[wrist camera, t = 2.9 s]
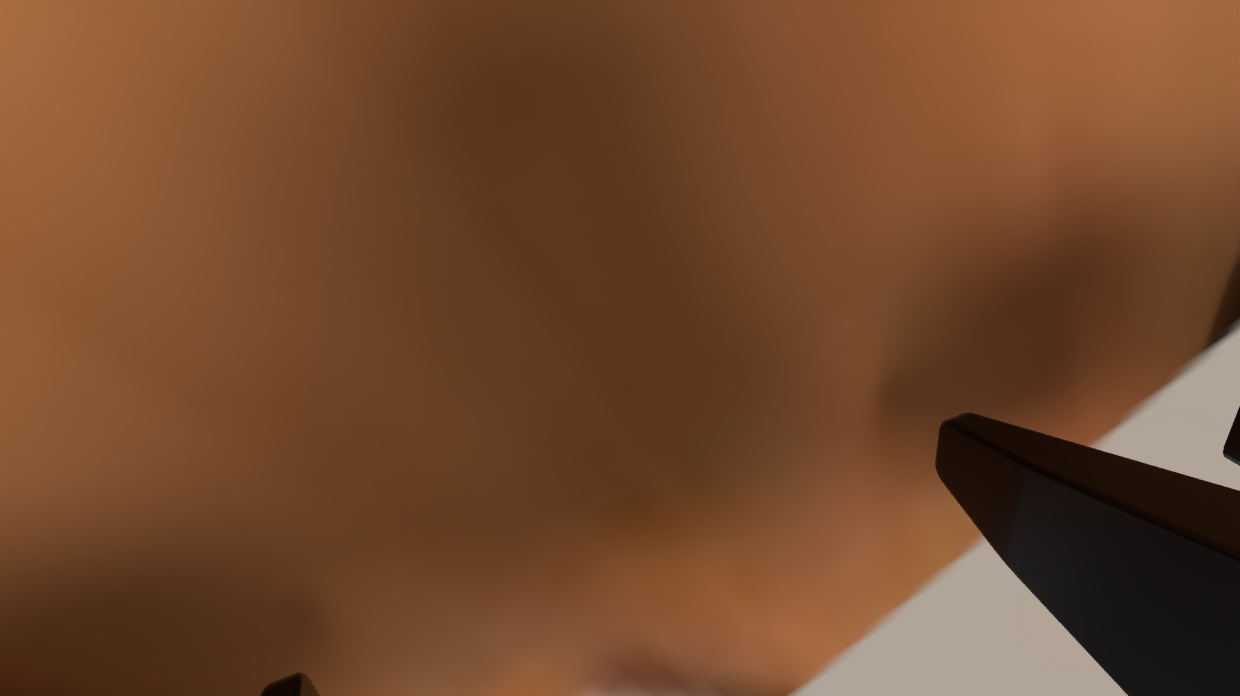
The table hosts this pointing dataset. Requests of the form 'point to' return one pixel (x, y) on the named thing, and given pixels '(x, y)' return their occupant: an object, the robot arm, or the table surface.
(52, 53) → the table surface
